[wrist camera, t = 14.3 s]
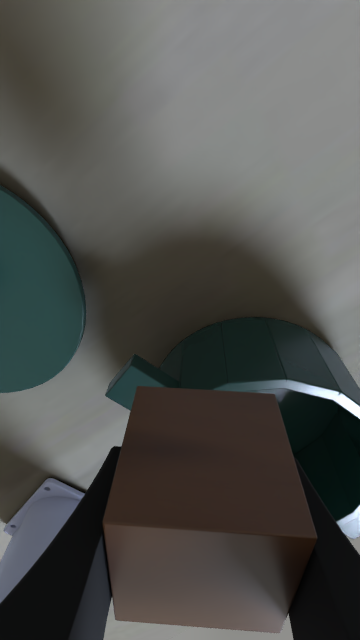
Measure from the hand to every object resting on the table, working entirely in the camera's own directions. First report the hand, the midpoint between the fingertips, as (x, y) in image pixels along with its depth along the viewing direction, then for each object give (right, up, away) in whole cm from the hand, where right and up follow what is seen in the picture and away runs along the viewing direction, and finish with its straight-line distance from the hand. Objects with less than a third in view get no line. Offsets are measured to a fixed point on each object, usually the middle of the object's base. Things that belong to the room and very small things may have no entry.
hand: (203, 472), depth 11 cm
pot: (+4, 0, +12) cm, 12 cm away
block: (0, +1, +1) cm, 1 cm away
